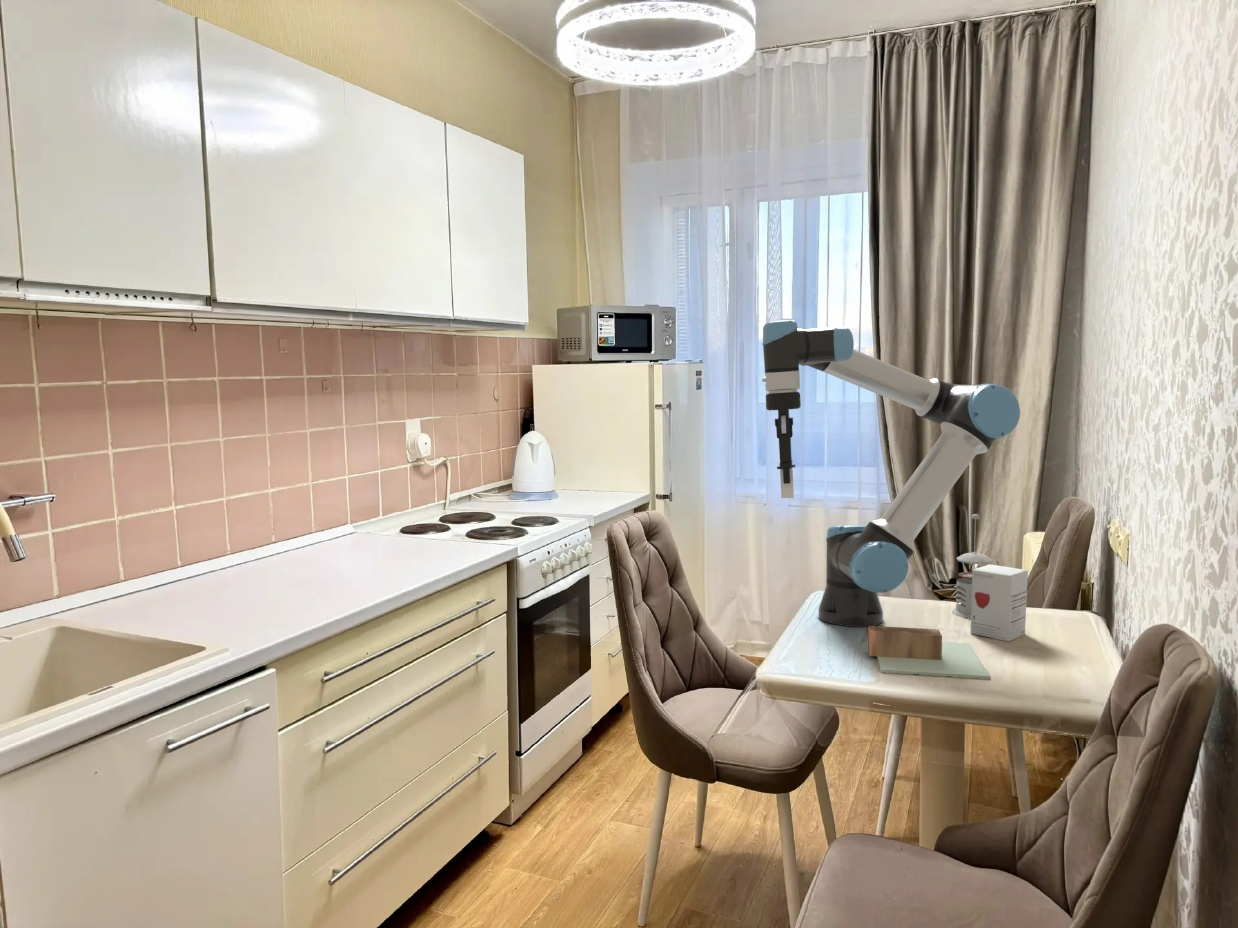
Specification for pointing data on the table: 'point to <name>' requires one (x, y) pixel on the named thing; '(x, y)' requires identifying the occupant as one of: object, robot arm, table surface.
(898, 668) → the mat
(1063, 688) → the table surface
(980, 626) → the supplement box
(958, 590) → the french press
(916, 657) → the walnut block
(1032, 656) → the table surface
